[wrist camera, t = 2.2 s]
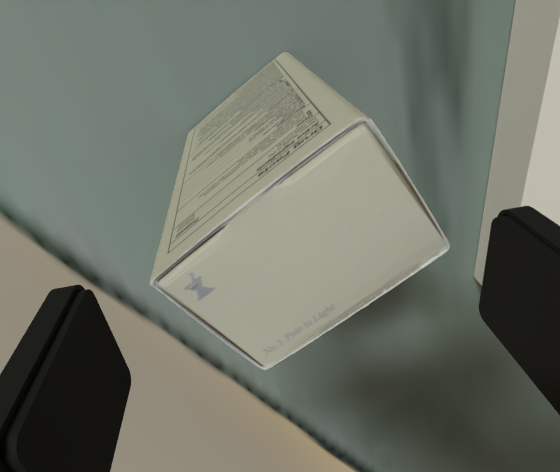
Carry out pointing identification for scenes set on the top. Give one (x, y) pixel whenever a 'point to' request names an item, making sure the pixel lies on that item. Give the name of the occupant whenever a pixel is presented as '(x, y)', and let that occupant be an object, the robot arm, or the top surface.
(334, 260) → the skincare box
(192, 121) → the top surface
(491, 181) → the box stand
